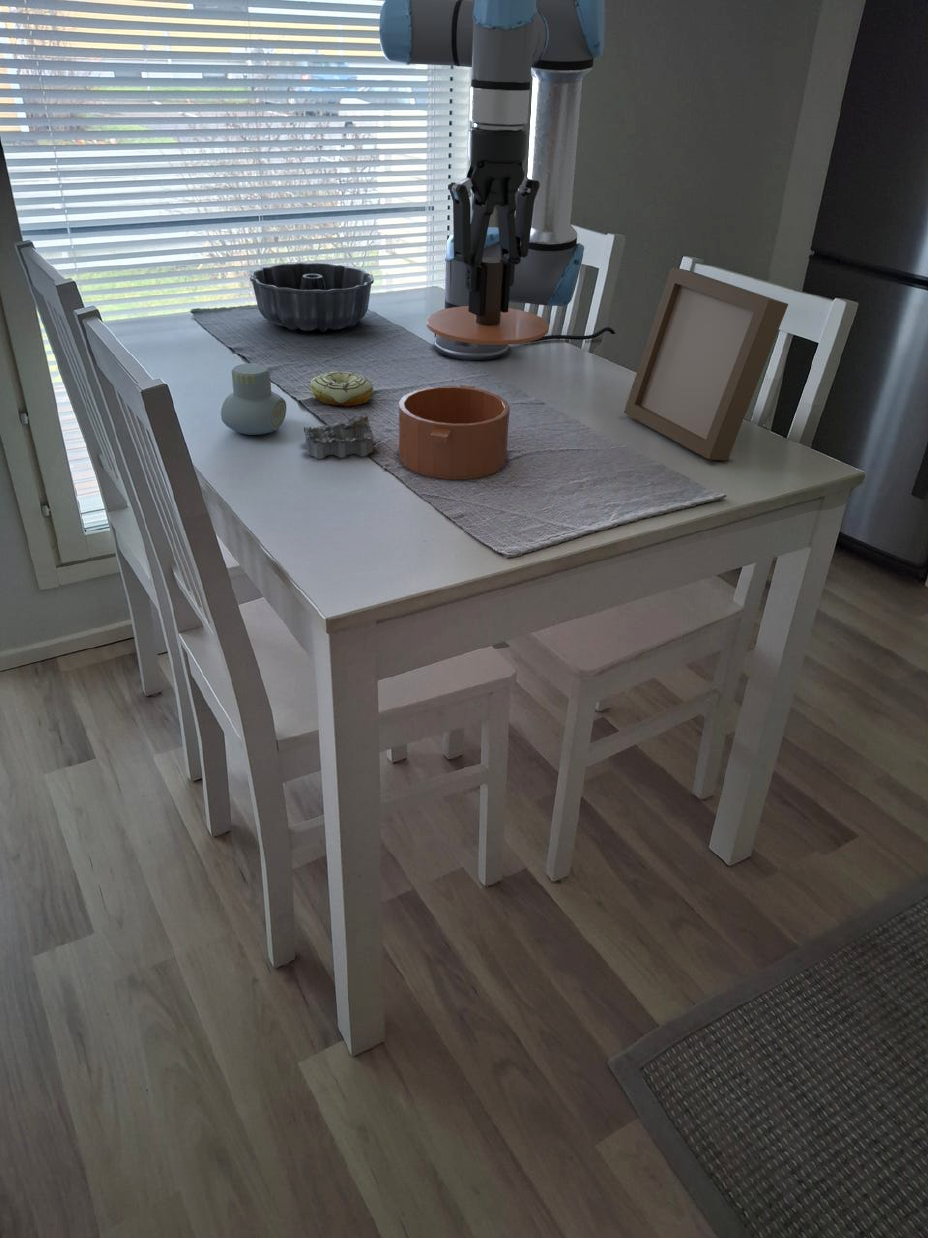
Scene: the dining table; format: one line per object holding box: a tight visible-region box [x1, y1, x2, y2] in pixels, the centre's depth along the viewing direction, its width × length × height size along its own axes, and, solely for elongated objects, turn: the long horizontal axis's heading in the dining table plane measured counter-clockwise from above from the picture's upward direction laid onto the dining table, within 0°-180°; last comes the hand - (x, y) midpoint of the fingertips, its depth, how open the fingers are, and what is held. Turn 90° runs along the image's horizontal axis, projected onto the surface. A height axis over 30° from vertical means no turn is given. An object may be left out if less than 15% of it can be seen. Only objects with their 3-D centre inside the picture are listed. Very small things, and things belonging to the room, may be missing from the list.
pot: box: [398, 384, 510, 480], centre depth 139 cm, size 17×22×8 cm
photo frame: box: [623, 266, 789, 462], centre depth 147 cm, size 15×22×25 cm
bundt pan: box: [249, 262, 375, 333], centre depth 197 cm, size 26×26×10 cm
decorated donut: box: [310, 370, 374, 407], centre depth 160 cm, size 10×11×4 cm
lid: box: [426, 257, 550, 346], centre depth 128 cm, size 18×18×10 cm
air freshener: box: [220, 362, 287, 436], centre depth 145 cm, size 11×8×10 cm
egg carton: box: [303, 415, 375, 460], centre depth 141 cm, size 11×8×4 cm
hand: (488, 311), depth 130 cm, fingers closed on lid, 4 cm apart
